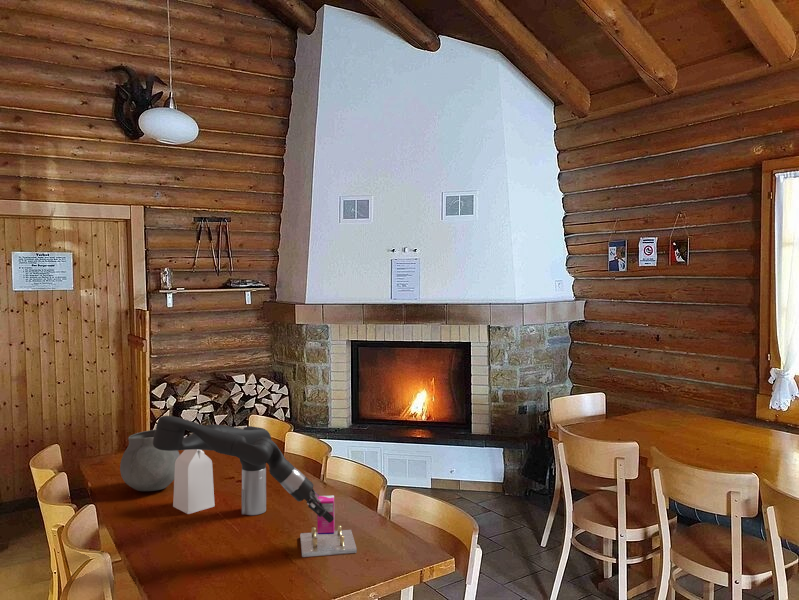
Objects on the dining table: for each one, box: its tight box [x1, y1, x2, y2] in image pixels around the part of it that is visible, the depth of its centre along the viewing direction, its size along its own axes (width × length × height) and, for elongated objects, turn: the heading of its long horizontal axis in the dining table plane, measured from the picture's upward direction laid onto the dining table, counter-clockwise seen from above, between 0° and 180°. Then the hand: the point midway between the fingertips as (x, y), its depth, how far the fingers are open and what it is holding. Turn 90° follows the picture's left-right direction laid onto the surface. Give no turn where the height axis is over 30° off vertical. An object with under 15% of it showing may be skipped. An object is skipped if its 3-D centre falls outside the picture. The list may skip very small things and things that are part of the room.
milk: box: [172, 450, 216, 515], centre depth 250 cm, size 12×12×26 cm
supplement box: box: [316, 494, 335, 534], centre depth 213 cm, size 6×6×12 cm
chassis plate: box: [299, 524, 358, 558], centre depth 213 cm, size 18×16×4 cm
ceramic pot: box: [119, 429, 181, 492], centre depth 270 cm, size 24×24×25 cm
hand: (331, 516), depth 213 cm, fingers closed on supplement box, 6 cm apart
